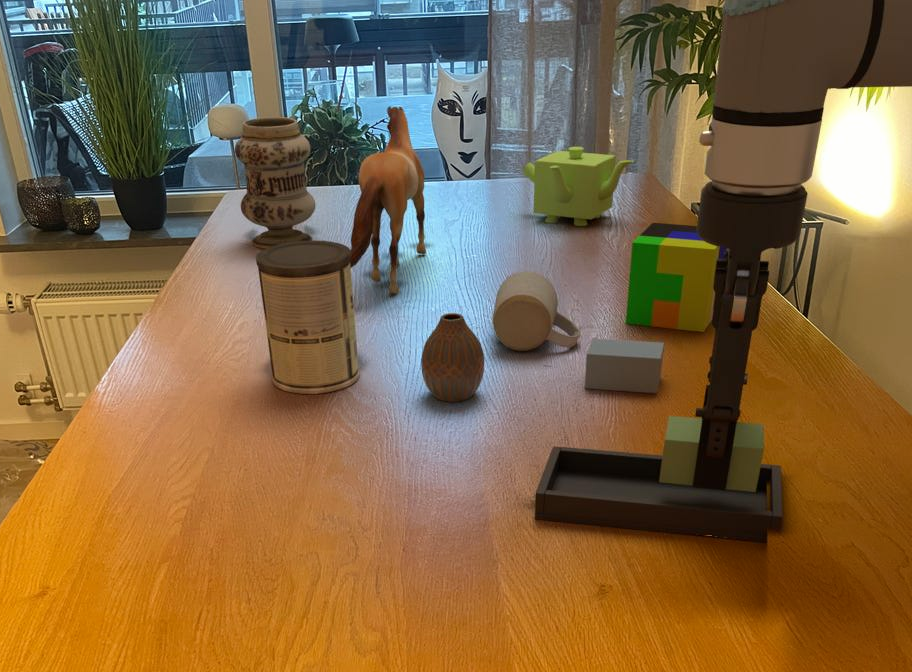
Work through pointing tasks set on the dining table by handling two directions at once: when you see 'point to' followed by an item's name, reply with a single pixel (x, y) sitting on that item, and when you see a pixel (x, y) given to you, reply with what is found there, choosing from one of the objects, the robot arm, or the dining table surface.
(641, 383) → the grey block
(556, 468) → the black rectangular tray
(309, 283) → the coffee can
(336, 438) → the dining table surface
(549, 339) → the ceramic mug
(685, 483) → the green rectangular block
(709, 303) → the puzzle toy
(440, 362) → the vase
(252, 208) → the apothecary jar
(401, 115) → the horse figurine
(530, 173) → the kettle
